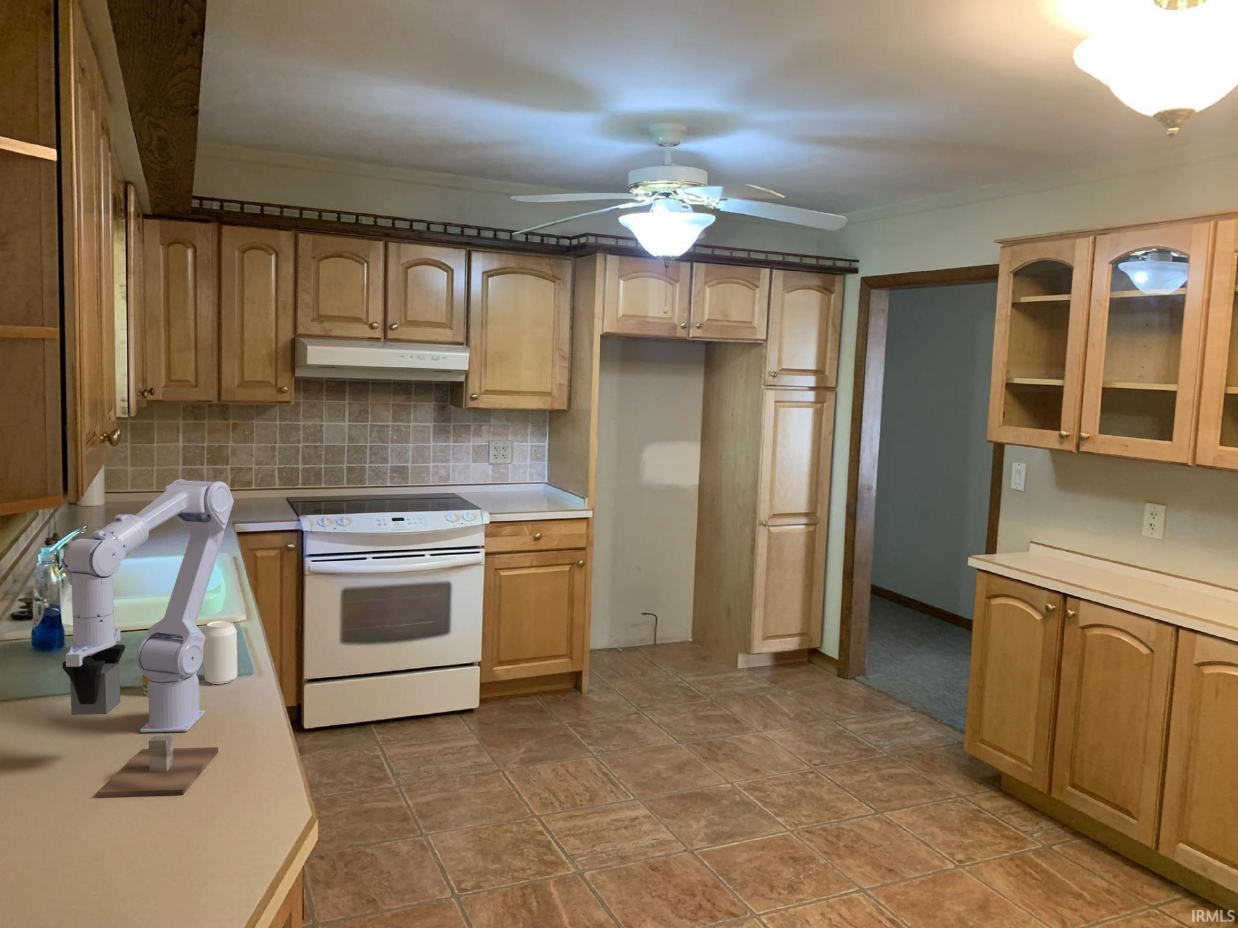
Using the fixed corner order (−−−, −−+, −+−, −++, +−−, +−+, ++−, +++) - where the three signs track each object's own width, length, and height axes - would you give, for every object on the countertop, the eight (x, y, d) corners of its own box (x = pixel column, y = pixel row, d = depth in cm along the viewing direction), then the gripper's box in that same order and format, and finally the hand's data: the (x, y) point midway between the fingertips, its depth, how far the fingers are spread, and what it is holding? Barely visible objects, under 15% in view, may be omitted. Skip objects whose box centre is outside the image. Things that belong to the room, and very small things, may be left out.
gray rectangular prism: (86, 703, 150) (85, 663, 149) (120, 702, 150) (119, 663, 150) (71, 714, 145) (70, 673, 144) (106, 714, 145) (105, 673, 145)
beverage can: (215, 675, 191) (214, 618, 190) (243, 677, 190) (242, 620, 189) (198, 685, 185) (196, 626, 184) (226, 686, 184) (225, 628, 183)
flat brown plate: (142, 753, 151) (141, 719, 150) (218, 751, 152) (217, 717, 152) (97, 797, 135) (96, 758, 134) (183, 794, 136) (182, 756, 136)
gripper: (88, 603, 153) (90, 682, 154) (43, 626, 138) (46, 713, 140) (132, 602, 154) (134, 682, 155) (92, 625, 139) (95, 712, 140)
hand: (96, 697), depth 147 cm, fingers closed on gray rectangular prism, 5 cm apart
